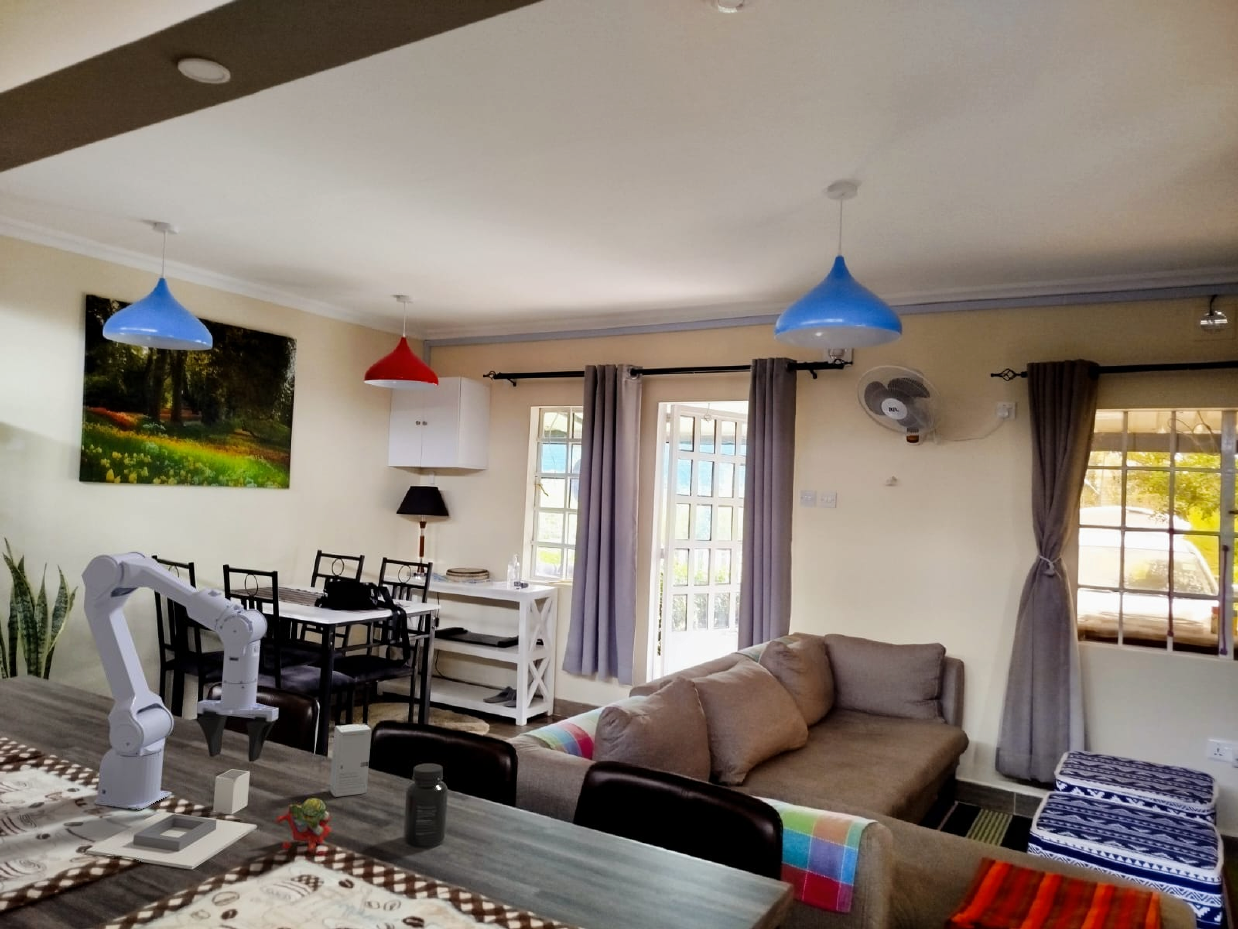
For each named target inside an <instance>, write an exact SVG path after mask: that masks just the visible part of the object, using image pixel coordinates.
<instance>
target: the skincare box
mask: <svg viewBox="0 0 1238 929" xmlns="http://www.w3.org/2000/svg"><path fill="white" fill-rule="evenodd" d="M371 739H372V728H371V727H369V725H367V724H366V723H359V724H358V723H356V724H345V725H335V727H334V735H333V743H332V744H333V745H332V753H331V755H332V756H331V766H330V768H331V769H330V777H329V778H330V780H329V791H330V793H331V794H332V796H333V797H335V798H336V797H344V796H353V795H360V794H361V795H362V794H365V793H367V786H368V776H369V765H370V764H369V761H370V752H371V751H370V749H371V741H372V740H371Z"/></svg>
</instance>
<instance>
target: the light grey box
mask: <svg viewBox="0 0 1238 929" xmlns="http://www.w3.org/2000/svg"><path fill="white" fill-rule="evenodd" d="M250 774H251V771H249V770H248V771H247V770H239V769H233V768H232V769H229V770H227V771H225V772H224V773H221V774H219V775H217V776H215V782H214V784H215V785H214V793H213V794H214V797H213V798H214V799H213V808H212V809H213V810H212V812H213V811H217V812H222V813H221V814H226V815H234V814H235V813H237V812H238V811H240V810H242V809H244V808H245V807H247V806H248V801H249V798H248V797H249V789H250V788H249V786H250ZM217 812H216V813H217Z"/></svg>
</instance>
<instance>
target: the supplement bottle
mask: <svg viewBox="0 0 1238 929" xmlns="http://www.w3.org/2000/svg"><path fill="white" fill-rule="evenodd" d="M443 771H444V769H443V766H442V765H440V764H437V763H421V764H418V765H416V766H414V767H413V771H412V772H413V775H412V781H413V782H411V783H410V784H408V786H407V788H406V790H405V802H404V819H403V821H404V822H403V837H402V838H403V841H404V843H405V844H406V846H409V847H412V848H415V849H416V848H417V849H428V848H429V849H430V848H432V847H434V848H435V847H436V846H439V845H441V844H442V843H443V842H444V841H445V839H446V838H445V837H446V829H447V828H446V827H447V826H446V824H447V812H448V811H447V809H448V795H449V794H448V786H447V785H446V783H445V782H444V781H442V780H443V778H444V776H443Z"/></svg>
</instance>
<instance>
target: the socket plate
mask: <svg viewBox="0 0 1238 929" xmlns="http://www.w3.org/2000/svg"><path fill="white" fill-rule="evenodd" d="M257 826H258V825H257V824H253V823H245V822H239V821H231V820H226V819H225V820H223V819H216V818H209V817H204V816H203V817H202V816H196V815H189V814H181V813H176V812H175V813H174V812H167V811H159V812H157V813H156V814H153V815H151V816H149V817H148V818H146V819H144V820H142V821H140V822H138V823H136V824H134V825H132V826H130V827H128V828H126V829H125V830H123V831H121V832H118V833H116V834H115V835H113V836H111V837H109V838H106V839H104V840H103V841H100V842H99V843H97V844H95V845H94V846H93V845H92V847H91V846H90V847H89V848H87V849H86V852H85V853H86V854H89V855H96V856H101V855H111V856H113V855H115V856H122V857H129V858H132V859H136V860H139V861H138V862H140V861H141V863H146V864H147V863H148V864H153V865H162V866H166V867H174V868H180V869H187V870H193V869H195V868H197V867H198V866H200V865H201V864H203V863H204V862H206V861H208V860H209V859H211V858H212V857H214V856H216V855H217V854H218V853H219V852H221V851H224V850H225V849H226V848H228V847H229V846H231V845H232V844H234V843H235V842H238V841H239V840H240V839H242V838H243V837H245V836H246V835H247V834H249V833H251V832H253V831H255V830H256V829H257Z"/></svg>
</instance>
